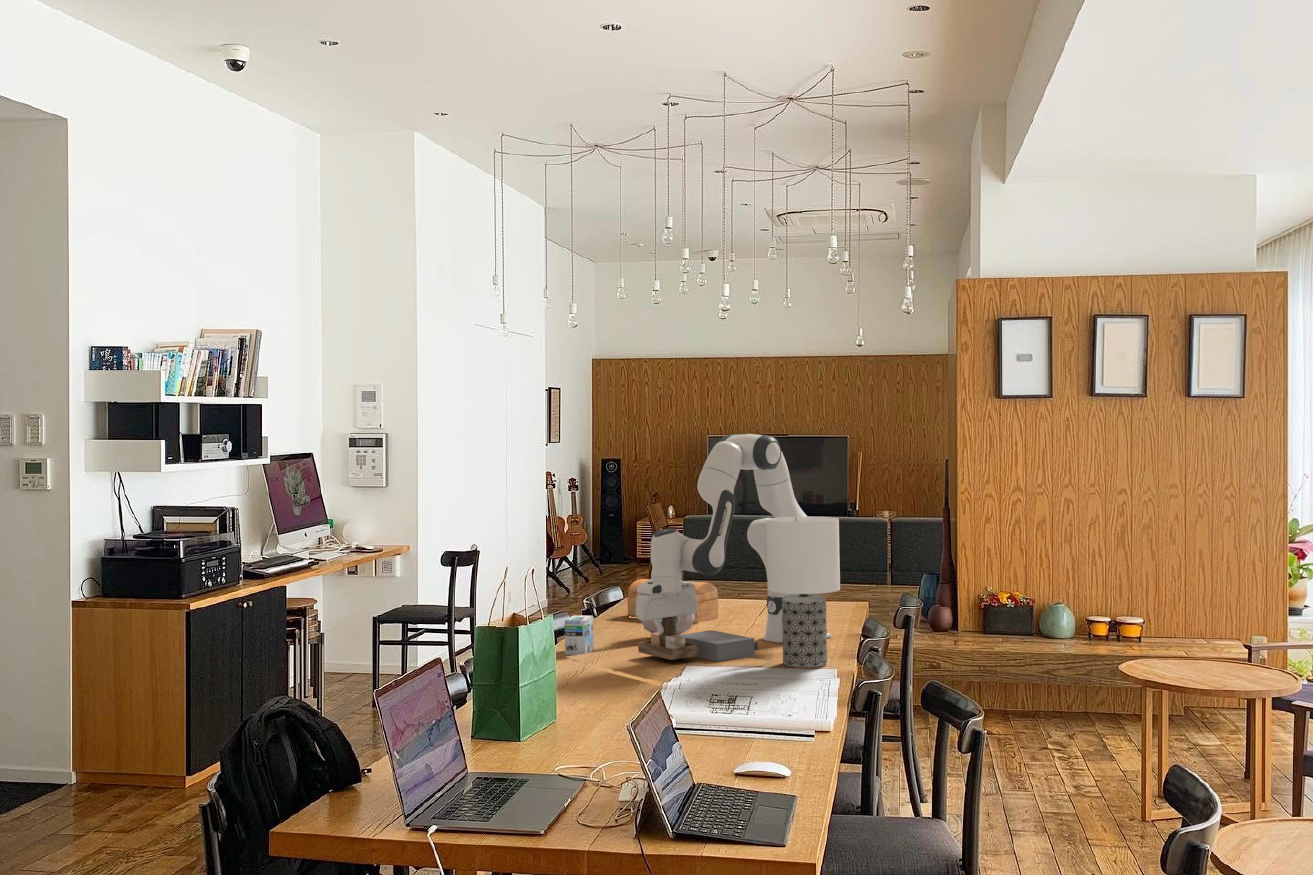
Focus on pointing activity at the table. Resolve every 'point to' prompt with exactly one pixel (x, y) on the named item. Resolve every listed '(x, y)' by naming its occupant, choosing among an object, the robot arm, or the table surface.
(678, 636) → the cream block
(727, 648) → the loading dock
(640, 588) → the robot arm
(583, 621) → the light bulb box
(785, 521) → the lamp
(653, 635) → the terracotta block
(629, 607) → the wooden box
